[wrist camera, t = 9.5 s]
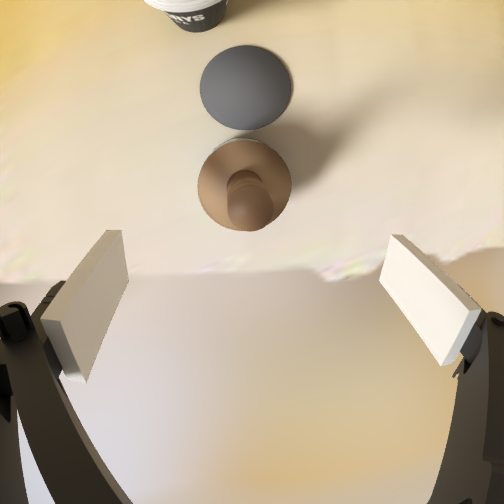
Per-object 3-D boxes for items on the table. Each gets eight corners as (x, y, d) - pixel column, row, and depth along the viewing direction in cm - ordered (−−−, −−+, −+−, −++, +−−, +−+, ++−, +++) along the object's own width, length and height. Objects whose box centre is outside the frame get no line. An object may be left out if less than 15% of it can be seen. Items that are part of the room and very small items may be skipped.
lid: (230, 122, 31) (232, 125, 23) (306, 172, 34) (332, 192, 26) (181, 199, 34) (169, 229, 26) (256, 242, 38) (266, 281, 29)
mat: (232, 31, 30) (232, 30, 30) (306, 78, 34) (307, 77, 33) (183, 101, 34) (182, 101, 33) (258, 146, 37) (258, 146, 37)
